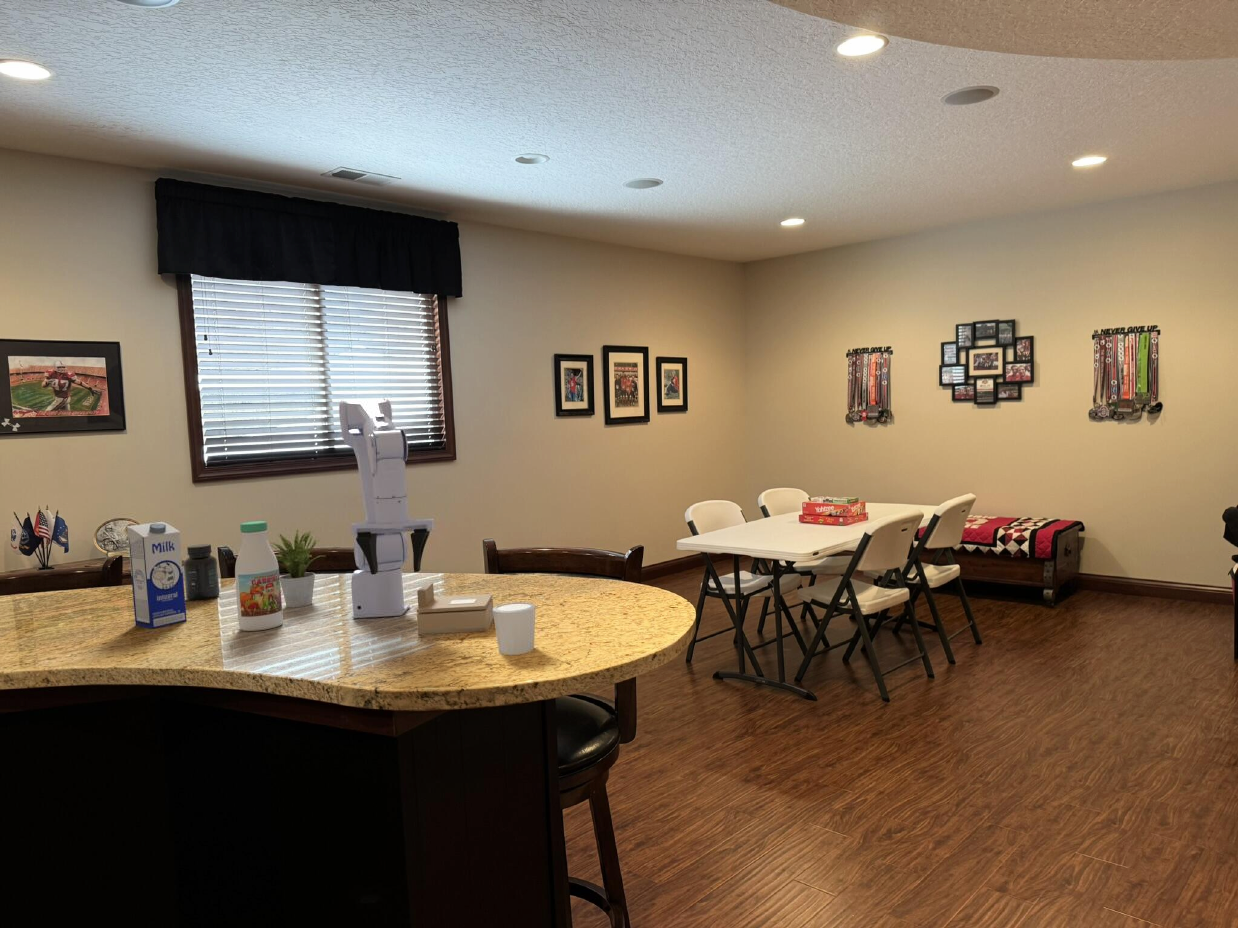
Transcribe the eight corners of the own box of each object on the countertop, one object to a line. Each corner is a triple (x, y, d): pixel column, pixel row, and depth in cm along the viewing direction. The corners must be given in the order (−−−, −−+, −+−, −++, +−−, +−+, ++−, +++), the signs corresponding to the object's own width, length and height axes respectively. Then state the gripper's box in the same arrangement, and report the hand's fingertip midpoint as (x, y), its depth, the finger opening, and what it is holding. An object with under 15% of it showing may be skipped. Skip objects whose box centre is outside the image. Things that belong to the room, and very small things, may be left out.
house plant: (281, 597, 186) (276, 524, 185) (343, 594, 185) (338, 521, 184) (251, 612, 171) (245, 533, 170) (318, 609, 171) (312, 530, 170)
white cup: (501, 658, 129) (498, 613, 128) (490, 648, 135) (487, 605, 135) (543, 651, 132) (541, 607, 131) (530, 641, 138) (528, 599, 137)
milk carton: (170, 617, 171) (162, 520, 169) (187, 620, 167) (179, 521, 166) (134, 625, 165) (125, 525, 164) (151, 629, 161) (142, 526, 160)
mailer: (418, 634, 146) (416, 614, 146) (429, 620, 156) (428, 601, 156) (486, 630, 146) (485, 610, 146) (493, 617, 156) (492, 598, 156)
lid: (416, 612, 146) (415, 592, 146) (428, 600, 156) (427, 581, 155) (485, 609, 146) (484, 588, 146) (492, 596, 156) (491, 577, 156)
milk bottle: (229, 631, 156) (221, 525, 155) (260, 620, 163) (252, 519, 162) (262, 632, 153) (254, 525, 152) (292, 622, 160) (284, 519, 159)
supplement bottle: (179, 601, 187) (174, 548, 187) (202, 594, 194) (198, 543, 193) (203, 601, 185) (199, 548, 185) (226, 594, 192) (222, 543, 191)
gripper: (343, 501, 145) (348, 578, 146) (426, 497, 146) (431, 573, 146) (355, 498, 152) (360, 571, 153) (434, 493, 153) (439, 566, 153)
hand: (395, 572), depth 150 cm, fingers open, 7 cm apart
